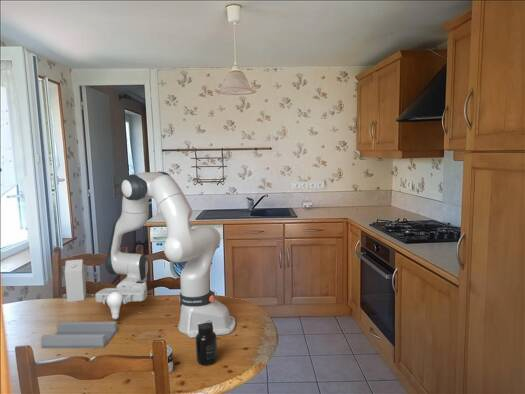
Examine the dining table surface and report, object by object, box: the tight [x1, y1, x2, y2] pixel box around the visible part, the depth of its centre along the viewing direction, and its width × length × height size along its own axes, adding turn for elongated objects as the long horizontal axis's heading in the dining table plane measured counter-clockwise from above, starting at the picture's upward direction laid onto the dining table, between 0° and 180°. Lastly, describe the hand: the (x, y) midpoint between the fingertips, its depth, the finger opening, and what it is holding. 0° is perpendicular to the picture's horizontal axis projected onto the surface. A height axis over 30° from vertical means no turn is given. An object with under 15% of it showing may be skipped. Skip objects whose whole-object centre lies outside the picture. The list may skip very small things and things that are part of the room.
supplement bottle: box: [195, 323, 218, 366], centre depth 122 cm, size 7×7×12 cm
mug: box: [149, 343, 174, 376], centre depth 118 cm, size 10×7×7 cm, turn 171°
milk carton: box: [64, 258, 87, 303], centre depth 174 cm, size 7×7×19 cm
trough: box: [40, 321, 118, 349], centre depth 137 cm, size 22×12×4 cm, turn 89°
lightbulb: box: [106, 292, 123, 320], centre depth 148 cm, size 6×6×11 cm
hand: (114, 302), depth 146 cm, fingers closed on lightbulb, 6 cm apart
